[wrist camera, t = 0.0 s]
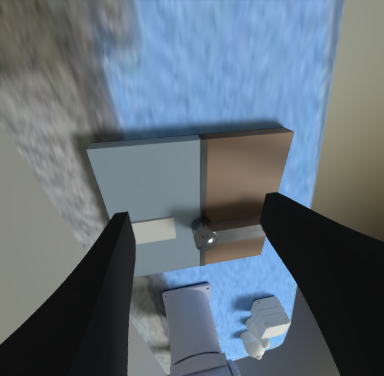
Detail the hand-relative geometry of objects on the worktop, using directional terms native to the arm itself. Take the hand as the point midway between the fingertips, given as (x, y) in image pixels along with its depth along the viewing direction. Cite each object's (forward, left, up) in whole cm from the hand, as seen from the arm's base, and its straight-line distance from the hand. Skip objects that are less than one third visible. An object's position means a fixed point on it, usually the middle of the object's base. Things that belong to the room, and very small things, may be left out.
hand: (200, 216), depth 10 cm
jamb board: (-8, -7, -10) cm, 14 cm away
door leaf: (-8, +3, -10) cm, 13 cm away
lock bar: (-9, -6, -8) cm, 14 cm away
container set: (-44, -16, -11) cm, 48 cm away
